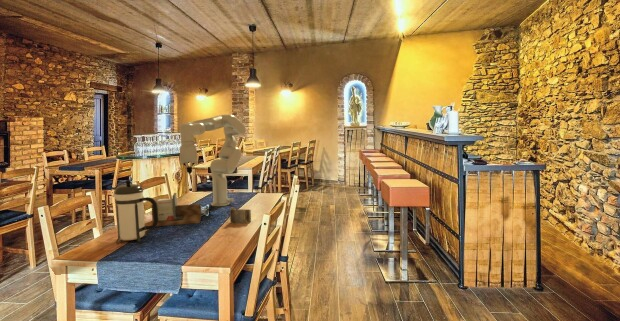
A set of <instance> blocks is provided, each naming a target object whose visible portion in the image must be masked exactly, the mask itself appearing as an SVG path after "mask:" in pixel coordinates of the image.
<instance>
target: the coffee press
mask: <svg viewBox="0 0 620 321" xmlns="http://www.w3.org/2000/svg"><path fill="white" fill-rule="evenodd" d="M111 197H112V198H113V197H114V204H115V208H116V209H115V212H116V214H115V215H116V226H117V240H115V243H116V244H117V243H120V244H121V243H122V242H123V241H134V240H136V243H137V242H138V243H137V244H140V243H142V240H141V238H143V237H145V236H146V237H147V236H148V233H147V231H146V230H148V231H149V230H153V229H154V228H156V227H157V226H156V225H157V223H158V211H157V204H156V201H155V200H156V199H154V198H153V197H150V196H149V197H148V196H146V197H144V189H143V187H142V186H141V184H135V183H132V181H131V180H130V179H126V180H125V184H123V185H119V186H117V187H116V188H115V190H114V191H113V194H112V195H111ZM144 202H150V203H151V206H152V205H153V214H154V223H153V222H152V225H146V224H145V221H146V220H145V209H144V208H145V207H144V206H145V205H144Z"/></svg>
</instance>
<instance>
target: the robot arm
mask: <svg viewBox="0 0 620 321" xmlns="http://www.w3.org/2000/svg"><path fill="white" fill-rule="evenodd" d="M222 128H223V133H224V138H225V139H224V143H223V144H222V146H221V149H220V150H219V152H218V158H217V159H216V158H215V159H213V160H211V163H210V166H209V167H210V172H211V177H212V199H213V200H212V201H213V202H211V203H210V204H211V206H212V207H225V206H229V205H230V204H231V202H235V199H234V198H231V197H230V198H229V197H228V181H227V180H228V179H227V176H226V174H227V175H230V174H233V173H234V172H235V170H236V168H237V166H238V164H239V162H240V160H241V157H242V150H241V149H240V148H239V147H237V143H238V142H237V139H236V138H235V136H243V135H245V134H246V130H247V127H246V126H245V124H244V123H243V122H242V121H241V120H240V119H239V118H238V117H236V116H235V115H233V114H219V115H216V116H211V117H207V118H202V119H198V120H193V121H189V122H187V123H181V124H180V125H179V131H180V146H179V165H182V166H184V167H186V173H187V174H189V175H190V174H192V173H193V166H194V165H196V164H199V161H198V152H197V151H198V150H197V146H196V145H197V141H195V139H194V136H201V135H204V134H205V132H211V131H215V130H218V129H219V130H220V129H222Z"/></svg>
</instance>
